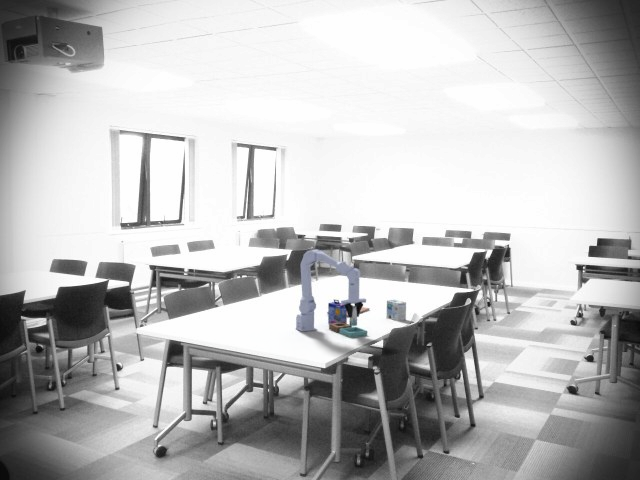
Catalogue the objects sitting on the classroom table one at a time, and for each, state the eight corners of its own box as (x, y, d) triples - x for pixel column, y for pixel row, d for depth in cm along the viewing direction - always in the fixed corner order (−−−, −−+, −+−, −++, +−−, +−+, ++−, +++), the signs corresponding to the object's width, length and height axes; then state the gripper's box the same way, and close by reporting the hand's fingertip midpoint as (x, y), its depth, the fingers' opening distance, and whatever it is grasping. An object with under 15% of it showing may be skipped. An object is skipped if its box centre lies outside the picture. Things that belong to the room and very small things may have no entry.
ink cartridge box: (327, 323, 324) (327, 298, 323) (333, 322, 328) (333, 297, 327) (341, 326, 317) (341, 301, 316) (347, 324, 322) (347, 299, 321)
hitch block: (337, 332, 302) (337, 327, 302) (329, 329, 310) (329, 323, 310) (351, 330, 307) (351, 325, 307) (342, 327, 315) (342, 322, 314)
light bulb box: (386, 318, 341) (386, 300, 340) (394, 316, 345) (394, 299, 344) (397, 321, 332) (398, 303, 331) (406, 320, 336) (406, 302, 335)
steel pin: (352, 326, 296) (352, 307, 295) (348, 324, 299) (348, 306, 299) (358, 325, 298) (358, 306, 297) (354, 323, 301) (354, 305, 301)
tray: (350, 337, 292) (350, 333, 292) (339, 333, 301) (339, 328, 301) (367, 335, 297) (367, 330, 297) (356, 331, 306) (356, 326, 306)
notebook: (347, 307, 374) (347, 304, 374) (369, 310, 365) (369, 307, 365) (325, 314, 351) (325, 311, 351) (349, 318, 342) (349, 315, 342)
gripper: (346, 293, 290) (345, 319, 291) (369, 291, 297) (369, 317, 298) (339, 291, 296) (338, 317, 297) (362, 289, 303) (361, 314, 305)
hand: (353, 317), depth 298 cm, fingers closed on steel pin, 4 cm apart
